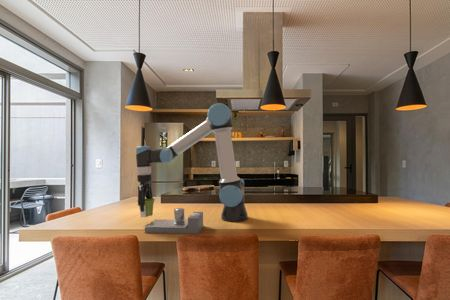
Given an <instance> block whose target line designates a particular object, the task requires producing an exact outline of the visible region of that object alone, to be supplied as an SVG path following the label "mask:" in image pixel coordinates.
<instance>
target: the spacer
mask: <svg viewBox="0 0 450 300" xmlns="http://www.w3.org/2000/svg"><path fill="white" fill-rule="evenodd" d="M173 211H174V214H173V215H174V220H175V224H183V223H185V220H186V219H185V208H183V207H177V208H174V210H173Z"/></svg>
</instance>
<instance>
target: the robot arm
mask: <svg viewBox="0 0 450 300" xmlns="http://www.w3.org/2000/svg"><path fill="white" fill-rule="evenodd" d="M206 116H207V117H206V119H205V120H204V121H203V122H202V123H200V124H198V125H197V126H195V127H194V128H193V129H191V130H189V132H187V133H185V134H184V135H183V136H181V137H179V138H178V139H176V140H175V141H174V142H172V143H171V144H169V145H168V146H167V147H165V148H155V149H151V147H150V145H141V146H136V148H135V161H136V169H135V170H136V174H137V177H136V178H137V182H139V183H140V184H139V186H137V201H138V202H137V206H138V207H139V206H140V208H139V212H140V218H147V217H146V207H145V199H151V198H153V199H154V196H153V191H152V190H153V189H152V182H151V181H152V165H151V164H157V163H158V164H163V163H164V164H166V163H171V162H172V161H174V160H175V159H176V158H177V157H178V156H179V155H181V154H182V153H184V152H185V151H187V150H188V149H190V148H191V147H192V146H193V145H195V144H197V143H198V142H200V141H201V140H202V139H204V138H205V137H208V135H210V134H211V133H213V134H214V139H215V147H216V155H217V160H218V167H219V173H220V179H219V181H218V187H219V194H218V195H219V196H218V197H219V200H220V202H221V203H222V205H223V208H222V211H221V215H220V217H221V220H222V221H225V222H234V223H235V222H243V221H246V220H247V219H248V216H249V215H248V211H247V208H246V205H245V180H244V179H243V178H240V177H239V176H238V174H237V167H236V161H235V160H236V159H235V153H234V145H233V139H232V132H231V131H232V130H233V128H234V125H233V112H232V110H231V108H230V107H229V106H228V105H226V104H224V103H222V102H217V103H214V104H212V105H211V106H210V107H209V108H208V111H207V114H206Z"/></svg>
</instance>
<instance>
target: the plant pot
mask: <svg viewBox="0 0 450 300" xmlns="http://www.w3.org/2000/svg"><path fill="white" fill-rule="evenodd" d="M155 201H156V199H155V198H154V197H153V198H151V199H146V198H145V207H146V217H145V218H148V217H150V216H151V217H152V216H153V214H154V213H153V212H154V202H155ZM136 202H137V203H138V200H137V201H136ZM138 207H139V209H140V206H138Z"/></svg>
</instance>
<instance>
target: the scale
mask: <svg viewBox="0 0 450 300" xmlns="http://www.w3.org/2000/svg"><path fill="white" fill-rule="evenodd" d="M187 220H188V226H187V228H162V227H147V226H145V228H144V232H145V233H151V234H152V233H153V234H155V233H156V234H194V235H195V234H199V233H200V232H201V230H202V229H203V227H204V211H193V212H192V213H191V214H190V215H189V216H188V217H187ZM202 226H203V227H202ZM201 228H202V229H201ZM200 229H201V230H200Z"/></svg>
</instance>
